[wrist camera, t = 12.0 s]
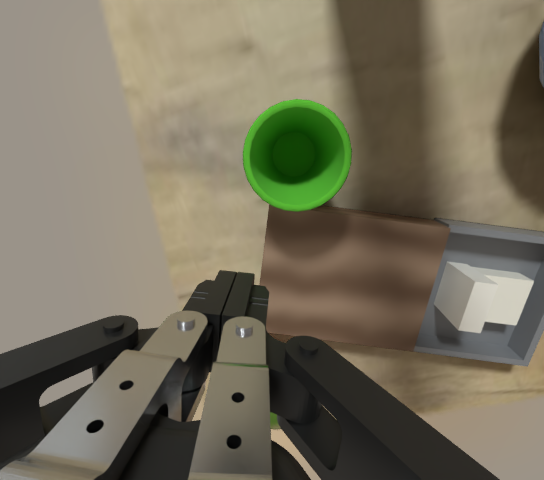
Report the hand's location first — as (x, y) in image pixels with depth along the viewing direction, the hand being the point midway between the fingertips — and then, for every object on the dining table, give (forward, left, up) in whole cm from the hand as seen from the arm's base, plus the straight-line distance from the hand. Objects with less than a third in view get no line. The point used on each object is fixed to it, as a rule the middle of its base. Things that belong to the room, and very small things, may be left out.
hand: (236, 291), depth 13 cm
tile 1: (+8, +23, -22) cm, 33 cm away
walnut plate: (+8, +10, -25) cm, 29 cm away
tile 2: (+8, +29, -22) cm, 38 cm away
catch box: (+8, +27, -25) cm, 38 cm away
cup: (-5, +2, -26) cm, 26 cm away
